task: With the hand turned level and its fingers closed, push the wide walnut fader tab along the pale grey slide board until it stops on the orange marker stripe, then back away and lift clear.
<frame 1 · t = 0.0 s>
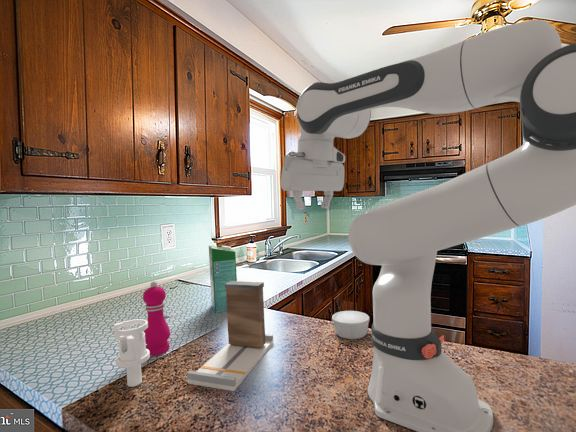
hand: (313, 208, 79), 39 cm above the countertop, tool pointing down, fingers open, 8 cm apart
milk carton: (224, 307, 124), on the countertop
ramekin: (351, 334, 95), on the countertop
fader: (245, 313, 87), point 10 cm above the countertop, slide at -7.0 cm
slide board: (235, 360, 81), on the countertop
white cylindrical cage holder: (134, 383, 73), on the countertop
pepper mill: (157, 351, 89), on the countertop
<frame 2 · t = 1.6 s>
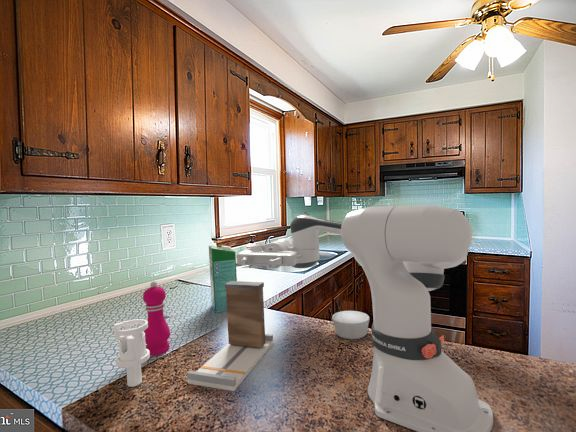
hand: (256, 263, 94), 23 cm above the countertop, tool horizontal, fingers open, 8 cm apart
nothing on the countertop moved.
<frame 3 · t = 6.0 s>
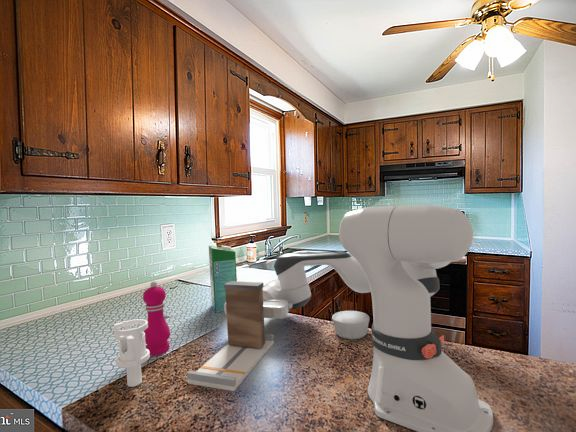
hand: (245, 317, 89), 8 cm above the countertop, tool horizontal, fingers closed
fader: (245, 313, 87), point 10 cm above the countertop, slide at -6.7 cm, touching gripper
everything else where it was.
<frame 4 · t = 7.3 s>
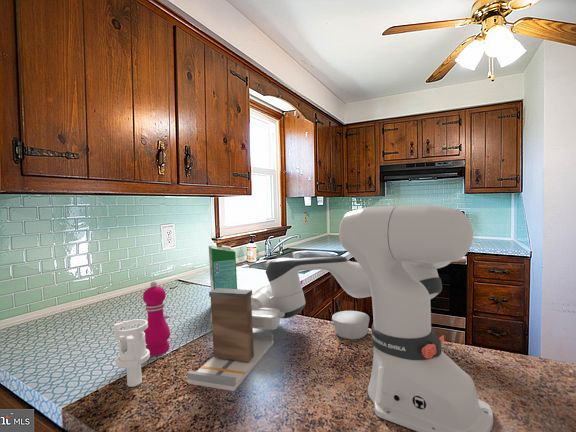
hand: (232, 328, 81), 8 cm above the countertop, tool horizontal, fingers closed, pressing on fader
fader: (232, 324, 80), point 10 cm above the countertop, slide at 0.8 cm, touching gripper
everything else where it was.
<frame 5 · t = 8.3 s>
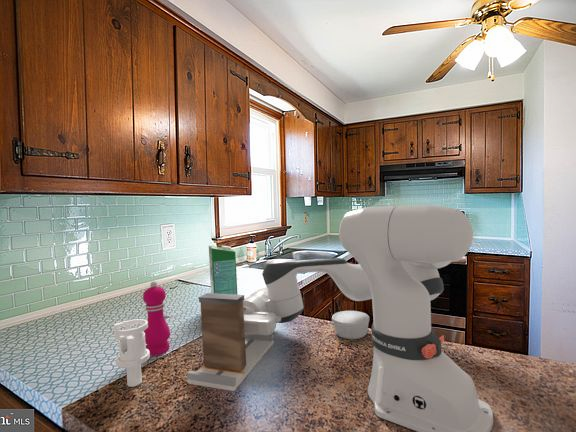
hand: (225, 333, 77), 9 cm above the countertop, tool horizontal, fingers closed
fader: (223, 331, 75), point 10 cm above the countertop, slide at 5.3 cm, touching gripper
everything else where it was.
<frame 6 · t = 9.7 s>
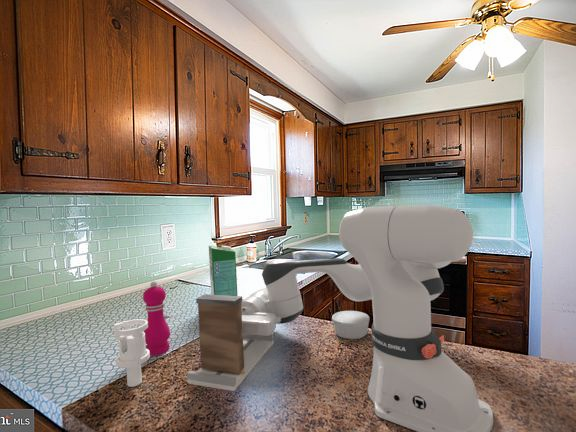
hand: (225, 334, 76), 9 cm above the countertop, tool horizontal, fingers closed
fader: (220, 332, 74), point 10 cm above the countertop, slide at 6.4 cm
everything else where it was.
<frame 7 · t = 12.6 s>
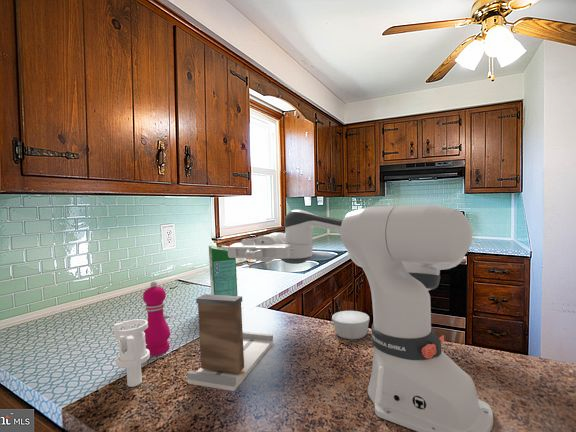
hand: (249, 255, 90), 26 cm above the countertop, tool horizontal, fingers closed
nothing on the countertop moved.
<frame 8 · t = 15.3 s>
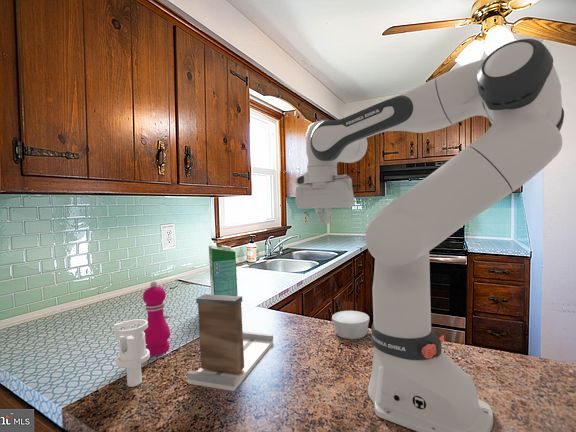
hand: (324, 223, 93), 34 cm above the countertop, tool pointing down, fingers closed
nothing on the countertop moved.
at the end: fader slide at 6.4 cm; the gripper is holding nothing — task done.
